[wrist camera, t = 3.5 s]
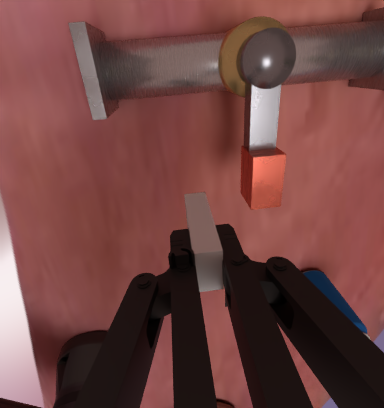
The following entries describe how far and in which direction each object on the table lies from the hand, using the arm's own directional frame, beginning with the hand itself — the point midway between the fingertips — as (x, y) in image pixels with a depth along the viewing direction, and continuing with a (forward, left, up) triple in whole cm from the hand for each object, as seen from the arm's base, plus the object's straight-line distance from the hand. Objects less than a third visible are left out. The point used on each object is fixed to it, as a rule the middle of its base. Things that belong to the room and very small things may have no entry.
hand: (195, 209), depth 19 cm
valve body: (+7, +9, -15) cm, 19 cm away
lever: (+7, +4, -7) cm, 11 cm away
